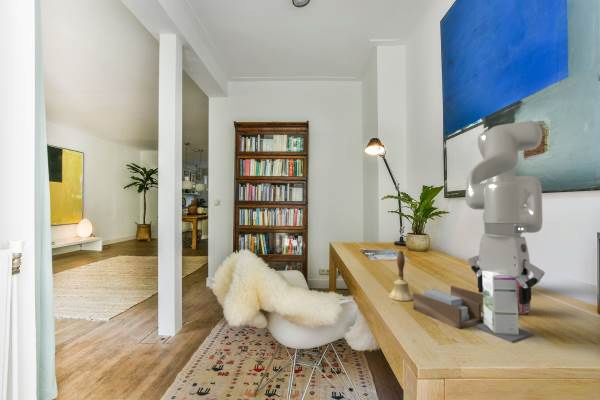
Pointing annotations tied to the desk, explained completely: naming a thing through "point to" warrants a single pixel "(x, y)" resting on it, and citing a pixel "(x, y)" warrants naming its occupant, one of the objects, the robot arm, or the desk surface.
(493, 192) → the robot arm
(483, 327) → the mat
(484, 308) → the syrup box
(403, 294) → the hand bell
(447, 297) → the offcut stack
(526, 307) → the soda can
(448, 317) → the rack
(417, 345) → the desk surface
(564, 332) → the desk surface
